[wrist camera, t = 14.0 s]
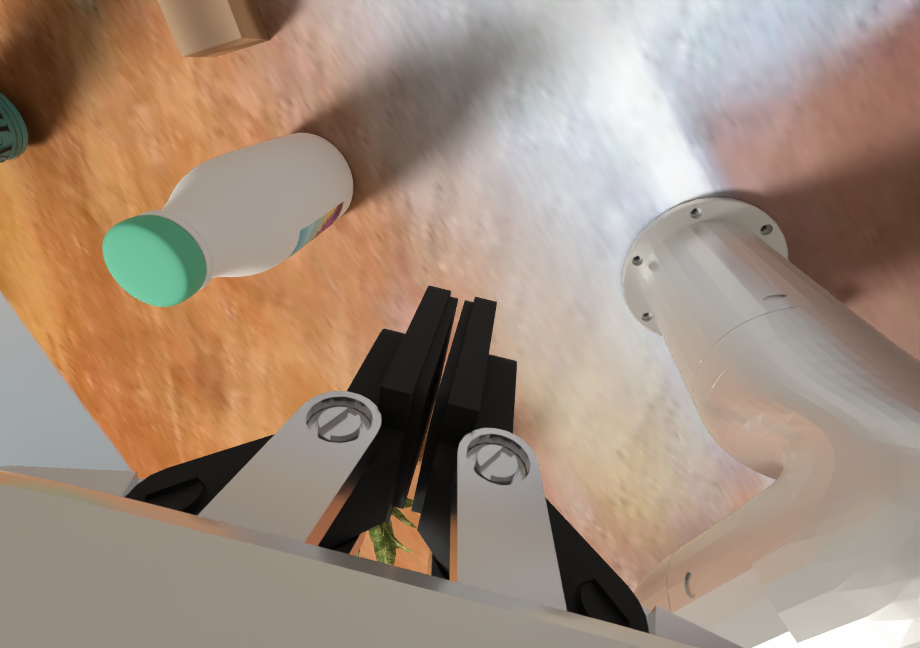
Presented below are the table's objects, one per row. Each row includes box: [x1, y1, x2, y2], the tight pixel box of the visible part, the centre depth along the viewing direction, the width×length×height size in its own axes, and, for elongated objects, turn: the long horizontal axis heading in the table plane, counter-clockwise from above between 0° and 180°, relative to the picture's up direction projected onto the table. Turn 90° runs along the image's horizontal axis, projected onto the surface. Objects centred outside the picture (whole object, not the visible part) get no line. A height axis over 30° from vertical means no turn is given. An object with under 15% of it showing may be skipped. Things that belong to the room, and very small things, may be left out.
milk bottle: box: [103, 133, 353, 307], centre depth 31 cm, size 8×8×20 cm
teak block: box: [157, 0, 270, 57], centre depth 33 cm, size 5×5×4 cm
